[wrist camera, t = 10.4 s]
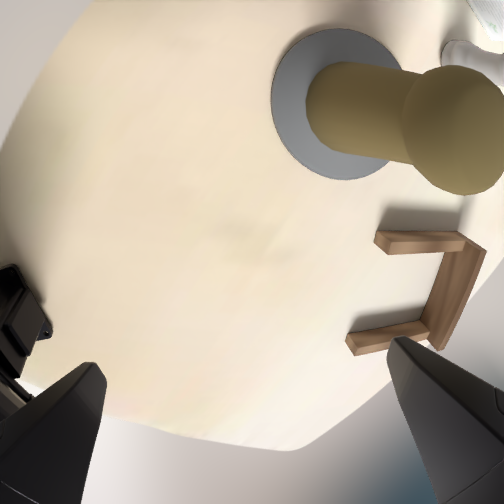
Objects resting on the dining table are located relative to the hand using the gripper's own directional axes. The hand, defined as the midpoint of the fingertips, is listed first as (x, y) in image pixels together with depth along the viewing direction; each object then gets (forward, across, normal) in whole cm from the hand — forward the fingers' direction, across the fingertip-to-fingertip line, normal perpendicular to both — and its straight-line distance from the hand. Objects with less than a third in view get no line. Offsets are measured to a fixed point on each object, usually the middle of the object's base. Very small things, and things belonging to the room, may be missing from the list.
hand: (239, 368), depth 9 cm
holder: (+15, +13, -10) cm, 22 cm away
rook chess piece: (+17, +18, +9) cm, 26 cm away
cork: (+14, +7, +5) cm, 17 cm away
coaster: (+14, +7, +5) cm, 17 cm away
